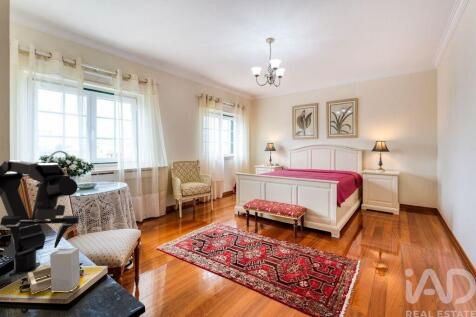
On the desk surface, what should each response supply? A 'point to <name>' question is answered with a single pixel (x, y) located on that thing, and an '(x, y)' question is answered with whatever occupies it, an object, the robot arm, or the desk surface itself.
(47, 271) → the socket holder
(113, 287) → the desk surface
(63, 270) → the skincare box
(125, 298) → the desk surface
